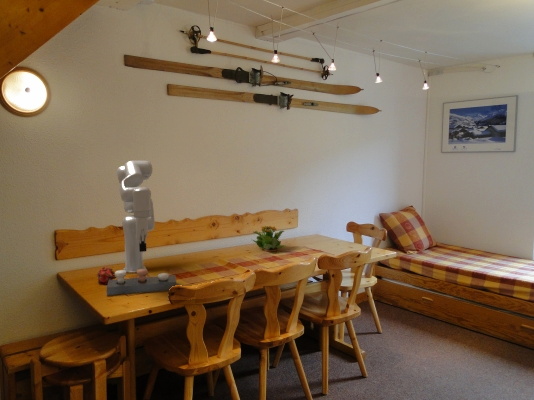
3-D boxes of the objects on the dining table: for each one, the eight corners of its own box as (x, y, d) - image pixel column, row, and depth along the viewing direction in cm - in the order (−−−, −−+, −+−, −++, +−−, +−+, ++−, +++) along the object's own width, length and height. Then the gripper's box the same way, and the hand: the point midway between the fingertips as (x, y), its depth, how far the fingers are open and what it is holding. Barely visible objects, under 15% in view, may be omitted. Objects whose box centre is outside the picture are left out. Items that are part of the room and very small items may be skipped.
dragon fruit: (103, 281, 219) (112, 290, 211) (90, 275, 214) (98, 284, 205) (112, 268, 221) (122, 276, 213) (100, 261, 216) (109, 269, 207)
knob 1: (115, 282, 202) (115, 270, 201) (126, 281, 203) (126, 269, 203) (115, 285, 197) (114, 273, 196) (126, 284, 198) (125, 272, 198)
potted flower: (295, 250, 285) (295, 225, 283) (272, 256, 268) (272, 230, 266) (269, 245, 303) (269, 221, 301) (245, 250, 285) (245, 225, 284)
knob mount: (109, 287, 205) (108, 280, 204) (175, 282, 213) (174, 275, 213) (106, 295, 193) (106, 287, 193) (176, 289, 202) (176, 281, 201)
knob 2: (158, 285, 208) (157, 273, 207) (168, 284, 209) (168, 272, 208) (158, 288, 203) (158, 276, 202) (168, 287, 204) (168, 275, 204)
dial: (137, 280, 205) (136, 269, 204) (147, 280, 206) (147, 268, 205) (137, 283, 200) (136, 271, 199) (147, 283, 201) (147, 271, 201)
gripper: (133, 212, 205) (134, 248, 207) (133, 216, 191) (135, 255, 193) (149, 211, 208) (150, 247, 210) (150, 216, 193) (151, 254, 196)
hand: (142, 251), depth 201 cm, fingers closed
